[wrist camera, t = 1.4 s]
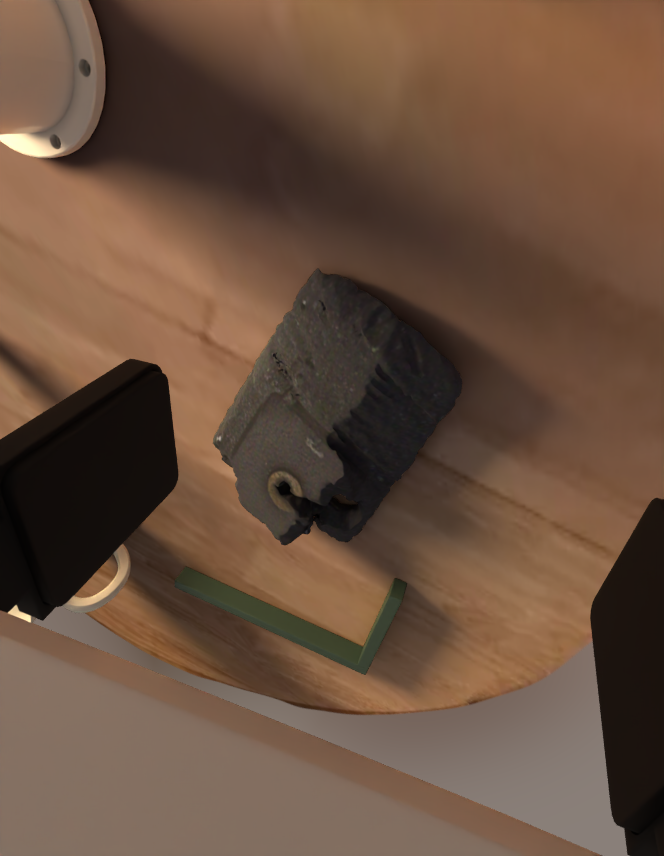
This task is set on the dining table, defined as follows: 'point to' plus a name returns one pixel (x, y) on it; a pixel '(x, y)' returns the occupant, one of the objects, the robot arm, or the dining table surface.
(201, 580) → the corner stop
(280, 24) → the dining table surface
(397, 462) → the dark slate chunk
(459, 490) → the dining table surface
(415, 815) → the robot arm
